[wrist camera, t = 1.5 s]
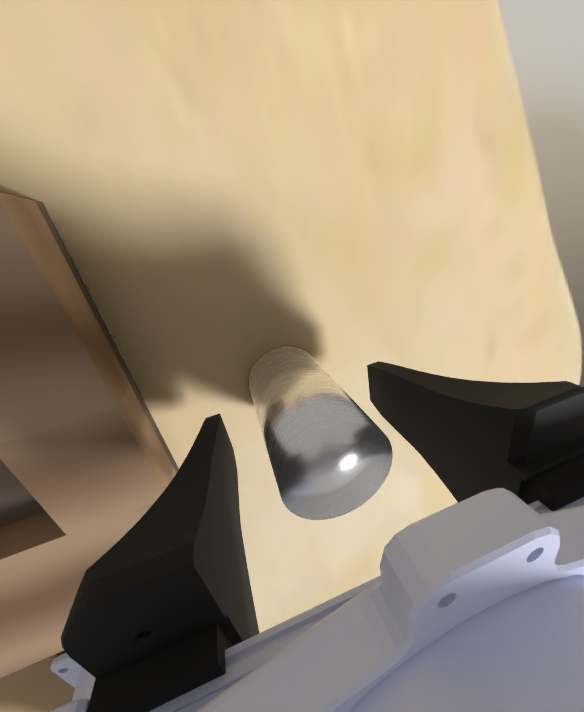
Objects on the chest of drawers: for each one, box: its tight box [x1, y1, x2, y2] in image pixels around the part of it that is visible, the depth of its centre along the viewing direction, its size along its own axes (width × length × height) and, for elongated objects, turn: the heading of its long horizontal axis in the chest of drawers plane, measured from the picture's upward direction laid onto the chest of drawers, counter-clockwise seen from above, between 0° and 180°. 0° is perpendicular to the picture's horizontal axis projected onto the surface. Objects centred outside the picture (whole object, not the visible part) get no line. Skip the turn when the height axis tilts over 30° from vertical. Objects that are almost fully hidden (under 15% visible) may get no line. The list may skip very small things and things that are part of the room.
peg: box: [249, 347, 392, 520], centre depth 12 cm, size 4×4×7 cm
